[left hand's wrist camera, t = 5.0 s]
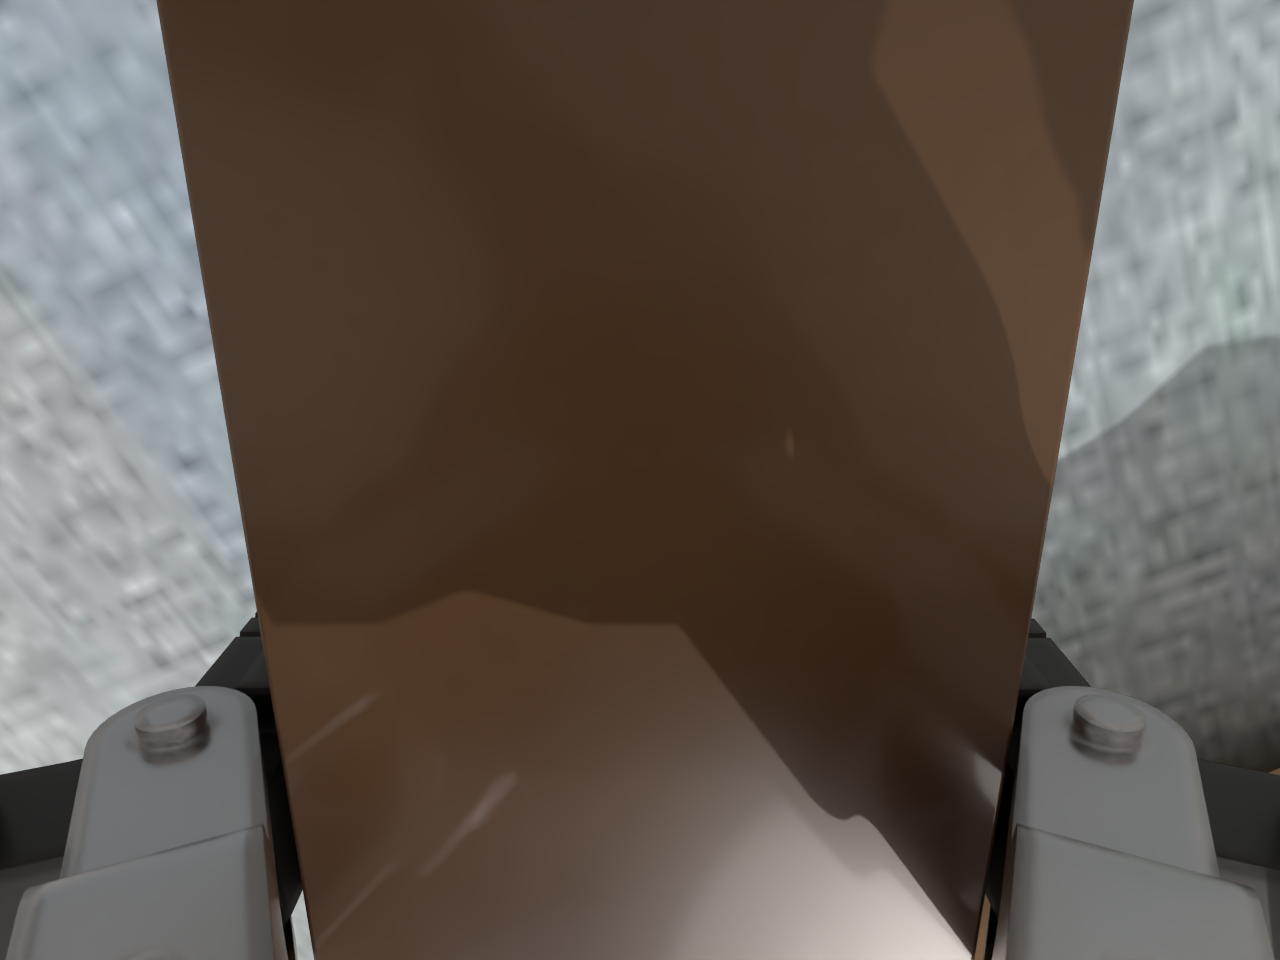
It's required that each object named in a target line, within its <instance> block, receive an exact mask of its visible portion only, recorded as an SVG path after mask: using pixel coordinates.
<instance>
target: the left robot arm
mask: <svg viewBox="0 0 1280 960" xmlns="http://www.w3.org/2000/svg"><path fill="white" fill-rule="evenodd" d="M255 614H256V616H255V618H251V619H250V620H249V622H248V623H247V624H246V625H245V626H244V628H243V629H242V630H241V631H240V637H235V639H234V640H233V641H232V642H231V643H230V645H229V646H228V647H227V648H226V649H225V651H224V652H223V653H222V654H221V656H220V657H219V658H218V659H217V660H216V662H215V663H214V664H213V665H212V666H211V668H210V669H209V670H208V671H207V673H206V674H205V675H204V676H203V677H202V679H201V680H200V681H199V682H198V683H197V685H196V686H195V687H187V688H182V689H176V690H172V691H168V692H163V693H160V694H157V695H154V696H151V697H148V698H145V699H143V700H141V701H138V702H136V703H134V704H132V705H130V706H128V707H126V708H124V709H122V710H120V711H119V712H117V713H116V714H114V715H112V716H111V717H110V718H108V719H107V720H106V721H105V722H103V723H102V724H101V725H100V726H99V727H98V728H97V729H96V730H95V731H94V732H93V734H92V735H91V737H90V738H89V740H88V742H87V744H86V747H85V751H84V756H83V759H79V760H75V761H70V762H65V763H60V764H55V765H49V766H44V767H39V768H34V769H28V770H23V771H18V772H13V773H8V774H2V775H0V960H298V957H297V949H296V940H295V934H294V928H293V922H292V916H291V914H292V912H293V910H294V908H295V905H296V903H297V901H298V899H299V897H300V894H301V892H302V890H303V887H302V881H301V875H300V869H299V863H298V857H297V851H296V845H295V839H294V833H293V827H292V820H291V814H290V808H289V802H288V796H287V790H286V784H285V778H284V772H283V766H282V760H281V754H280V748H279V741H278V735H277V729H276V723H275V717H274V711H273V705H272V699H271V693H270V687H269V681H268V675H267V669H266V662H265V656H264V650H263V644H262V638H261V632H260V626H259V620H258V614H257V612H256V613H255ZM985 894H986V896H987V898H988V900H989V903H990V910H989V916H988V922H987V928H986V934H985V940H984V948H983V957H982V960H1280V775H1276V774H1271V773H1266V772H1261V771H1255V770H1250V769H1245V768H1240V767H1234V766H1229V765H1224V764H1219V763H1214V762H1210V761H1206V760H1202V759H1198V758H1197V756H1196V751H1195V747H1194V745H1193V742H1192V740H1191V738H1190V737H1189V735H1188V734H1187V732H1186V731H1185V730H1184V729H1183V728H1182V727H1181V726H1180V725H1179V724H1178V723H1177V722H1175V721H1174V720H1173V719H1172V718H1170V717H1169V716H1167V715H1166V714H1164V713H1163V712H1161V711H1160V710H1158V709H1156V708H1154V707H1152V706H1150V705H1148V704H1146V703H1144V702H1142V701H1139V700H1137V699H1135V698H1132V697H1129V696H1126V695H1123V694H1120V693H1117V692H1112V691H1108V690H1104V689H1098V688H1093V687H1091V686H1090V685H1089V684H1088V683H1087V681H1086V680H1085V679H1084V678H1083V677H1082V675H1081V674H1080V673H1079V672H1078V671H1077V669H1076V668H1075V667H1074V666H1073V665H1072V663H1071V662H1070V661H1069V660H1068V659H1067V657H1066V656H1065V655H1064V654H1063V653H1062V652H1061V650H1060V649H1059V648H1058V647H1057V646H1056V644H1055V643H1054V642H1053V641H1052V640H1051V638H1046V632H1045V631H1044V630H1043V629H1042V628H1041V626H1040V625H1039V624H1038V623H1037V622H1036V620H1035V619H1031V622H1030V628H1029V634H1028V640H1027V646H1026V652H1025V658H1024V664H1023V670H1022V676H1021V682H1020V688H1019V694H1018V700H1017V706H1016V712H1015V718H1014V724H1013V730H1012V736H1011V742H1010V748H1009V754H1008V760H1007V766H1006V772H1005V778H1004V784H1003V790H1002V796H1001V802H1000V808H999V814H998V820H997V826H996V832H995V838H994V844H993V850H992V856H991V862H990V868H989V874H988V880H987V886H986V892H985Z"/></svg>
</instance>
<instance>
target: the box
mask: <svg viewBox="0 0 1280 960" xmlns="http://www.w3.org/2000/svg"><path fill="white" fill-rule="evenodd" d="M1133 3H1134V0H157V6H158V12H159V18H160V24H161V30H162V36H163V42H164V49H165V55H166V61H167V67H168V73H169V79H170V85H171V91H172V97H173V103H174V109H175V115H176V121H177V128H178V134H179V140H180V146H181V152H182V158H183V164H184V170H185V176H186V182H187V188H188V194H189V200H190V207H191V213H192V219H193V225H194V231H195V237H196V243H197V249H198V255H199V261H200V267H201V273H202V280H203V286H204V292H205V298H206V304H207V310H208V316H209V322H210V328H211V334H212V340H213V346H214V352H215V359H216V365H217V371H218V377H219V383H220V389H221V395H222V401H223V407H224V413H225V419H226V425H227V431H228V438H229V444H230V450H231V456H232V462H233V468H234V474H235V480H236V486H237V492H238V498H239V504H240V510H241V517H242V523H243V529H244V535H245V541H246V547H247V553H248V559H249V565H250V571H251V577H252V583H253V590H254V596H255V602H256V608H257V614H258V620H259V626H260V632H261V638H262V644H263V650H264V656H265V662H266V669H267V675H268V681H269V687H270V693H271V699H272V705H273V711H274V717H275V723H276V729H277V735H278V741H279V748H280V754H281V760H282V766H283V772H284V778H285V784H286V790H287V796H288V802H289V808H290V814H291V820H292V827H293V833H294V839H295V845H296V851H297V857H298V863H299V869H300V875H301V881H302V887H303V893H304V900H305V906H306V912H307V918H308V924H309V930H310V936H311V942H312V948H313V954H314V960H974V958H975V952H976V946H977V940H978V934H979V928H980V922H981V916H982V910H983V904H984V898H985V892H986V886H987V880H988V874H989V868H990V862H991V856H992V850H993V844H994V838H995V832H996V826H997V820H998V814H999V808H1000V802H1001V796H1002V790H1003V784H1004V778H1005V772H1006V766H1007V760H1008V754H1009V748H1010V742H1011V736H1012V730H1013V724H1014V718H1015V712H1016V706H1017V700H1018V694H1019V688H1020V682H1021V676H1022V670H1023V664H1024V658H1025V652H1026V646H1027V640H1028V634H1029V628H1030V622H1031V616H1032V610H1033V604H1034V598H1035V592H1036V586H1037V580H1038V574H1039V568H1040V562H1041V556H1042V550H1043V544H1044V538H1045V532H1046V526H1047V520H1048V514H1049V508H1050V502H1051V496H1052V490H1053V484H1054V478H1055V472H1056V466H1057V460H1058V454H1059V448H1060V442H1061V436H1062V430H1063V424H1064V418H1065V412H1066V406H1067V400H1068V394H1069V387H1070V381H1071V375H1072V369H1073V363H1074V357H1075V351H1076V345H1077V339H1078V333H1079V327H1080V321H1081V315H1082V309H1083V303H1084V297H1085V291H1086V285H1087V279H1088V273H1089V267H1090V261H1091V255H1092V249H1093V243H1094V237H1095V231H1096V225H1097V219H1098V213H1099V207H1100V201H1101V195H1102V189H1103V183H1104V177H1105V171H1106V165H1107V159H1108V153H1109V147H1110V141H1111V135H1112V129H1113V123H1114V117H1115V111H1116V105H1117V99H1118V93H1119V87H1120V81H1121V75H1122V69H1123V63H1124V57H1125V51H1126V45H1127V39H1128V33H1129V27H1130V21H1131V15H1132V9H1133Z"/></svg>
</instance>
